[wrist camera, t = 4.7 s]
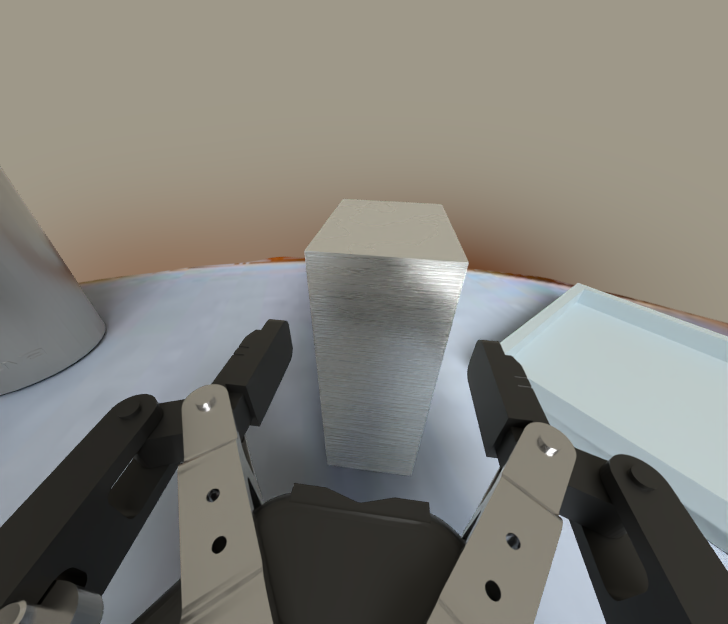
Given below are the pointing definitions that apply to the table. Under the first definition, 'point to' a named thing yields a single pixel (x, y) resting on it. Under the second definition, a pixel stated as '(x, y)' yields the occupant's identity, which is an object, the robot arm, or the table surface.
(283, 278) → the table surface
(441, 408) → the table surface
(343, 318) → the aluminium block
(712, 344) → the blue-grey tray
